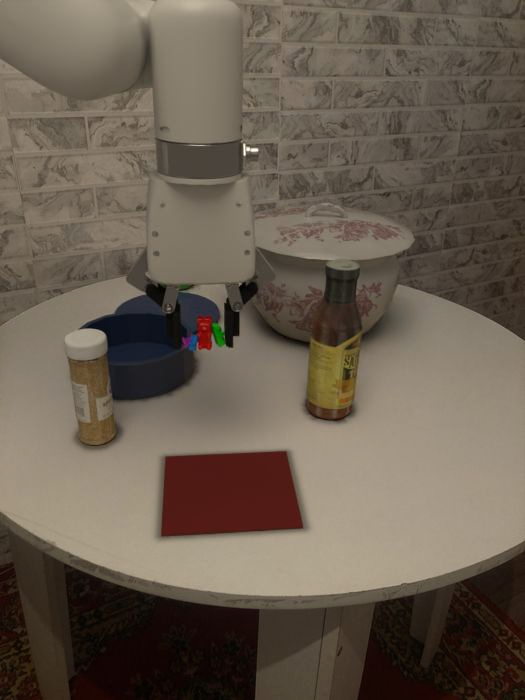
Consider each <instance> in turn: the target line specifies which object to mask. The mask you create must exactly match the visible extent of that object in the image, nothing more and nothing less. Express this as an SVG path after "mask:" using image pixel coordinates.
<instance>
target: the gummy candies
mask: <svg viewBox="0 0 525 700" xmlns="http://www.w3.org/2000/svg"><path fill="white" fill-rule="evenodd" d="M197 327H198V333H195V334H193V335H192V334H190V335H189V336H190V337H187V339H185V338H184V337H182V338H181V341H182V349H184V348H186V347H189V346H190V348H189V350H192V351H193V352H196V351H197V350H198V351H202V350H203V349H205V350H207V351H211V350H212V349H213V341H212V336H213V340H214V343H215V344H216V345H217V346H218V347H219V348H222V347H224V346H226V343H225V336H224V334H225V332H224V330H223V329H222V327H221V325H219V324H218V323H217V322H215V323H212V317H211V316H206V317H205V319H204V317H203V316H202V315H199V316H198V323H197Z"/></svg>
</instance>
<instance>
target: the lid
mask: <svg viewBox="0 0 525 700" xmlns="http://www.w3.org/2000/svg"><path fill="white" fill-rule="evenodd" d="M163 287H164V288H165V285H164V284H163ZM177 299H178V304H180V310H181V319H182V320H184V321H185V322H186V323H187V324H188V325H189V326H190V327H191V328H192V330H193V334H194V335H196V334H198V327H197V323H198V316H199V315H202V316H203V317H204V319H205V317H206V316H211V317H212V323H217V321H218V320H219V318H220V308H219V307H218V305H217V304H216V302H214V301H213V300H212V299H210V298H208V297H206V296H203V295H200V294H196V293H191V292H184V291H179V292H178V297H177ZM126 311H153V312H159V313H165V312H164V311H163V310H162V308H161V307H160V306H159V305H158V304H157V303H155V302H154V301H153V300H152V299H151V298H150V297H148V296H147V295H146V293H145V294H141V295H138V296H135V297H132V298H130V299H127V300H125V301H124V302H122V303H121V304H120V305H118V307H116V309H115V310H114V314H115V313H121V312H126Z"/></svg>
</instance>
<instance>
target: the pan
mask: <svg viewBox="0 0 525 700" xmlns="http://www.w3.org/2000/svg"><path fill="white" fill-rule="evenodd" d="M80 329H97V330H100V331H102V332H104V333H105V334H106V337H107V345H108V350H107V361H108V370H109V376H110V383H111V391H112V400H113V399H114V400H141V399H149V398H152V397H156V396H161V395H164V394H167V393H169V392H172V391H174V390H175V389H178V388H179V387H180V386H182V385H184V384H185V383H186V382H187V381H188V380H189V379H190V377H191V376H192V374H193V372H194V369H195V366H194V363H195V362H194V361H195V360H194V351H192V350H189V348H190V346H189V347H186V348H184V349H182V348H180V350H175V348H174V338H167V326H166V313H159V312H153V311H126V312H121V313H115V312H114V313H111V314H106V315H103V316H100V317H97V318H95V319H92V320H89V321H87V322H85V323H84V324H83V325H82V326H80V327H79V328H78V329H77V330H80ZM181 334H182V337H184V338H185V339H187V337H190V336H189V335H190V334H192V335H193V330H192V328H191V327H190V326H189V325H188V324H187V323H186V322H185V321H184V320H182V319H181Z"/></svg>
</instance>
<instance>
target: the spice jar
mask: <svg viewBox="0 0 525 700" xmlns="http://www.w3.org/2000/svg"><path fill="white" fill-rule="evenodd" d="M63 344H64V351H65V355H66V358H67V360H68V361H67V362H68V367H69V374H70V377H69V378H70V386H71V391H72V399H73V405H74V412H75V416H76V420H77V426H78V427H77V428H78V432H77V433H78V439H79V440H80V441H81V443H83V444H86V445H90V446H99V445H104V444H107V443H108V442H110V441H111V440H113V439H114V438H115V436H116V434H117V432H118V431H117V426H116V422H115V415H114V411H115V410H114V400H113V398H112V391H111V383H110V376H109V370H108V361H107V350H108V345H107V337H106V334H105V333H104V332H102V331H100V330H97V329H80V330H78V329H76V330H74V331H71V332H69V333H68V334H67V335H66V336H65V337H64V340H63Z"/></svg>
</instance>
